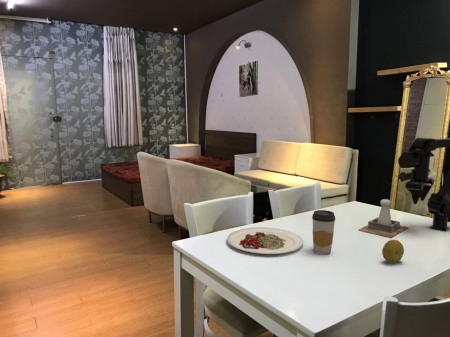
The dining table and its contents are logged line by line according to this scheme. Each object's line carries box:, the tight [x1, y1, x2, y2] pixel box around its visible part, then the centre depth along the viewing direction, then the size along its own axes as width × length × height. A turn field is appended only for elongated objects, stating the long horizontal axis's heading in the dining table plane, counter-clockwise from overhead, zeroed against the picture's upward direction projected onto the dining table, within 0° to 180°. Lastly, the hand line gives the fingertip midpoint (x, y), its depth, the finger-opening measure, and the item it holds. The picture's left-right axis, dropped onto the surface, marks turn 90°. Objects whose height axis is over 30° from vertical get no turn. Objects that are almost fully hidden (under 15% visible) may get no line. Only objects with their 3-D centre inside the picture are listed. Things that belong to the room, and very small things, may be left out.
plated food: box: [226, 226, 304, 255], centre depth 142 cm, size 30×30×3 cm
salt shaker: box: [377, 198, 392, 226], centre depth 159 cm, size 6×6×13 cm
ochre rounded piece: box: [381, 239, 405, 264], centre depth 123 cm, size 8×4×8 cm, turn 110°
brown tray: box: [358, 216, 409, 239], centre depth 160 cm, size 20×14×4 cm
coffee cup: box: [311, 209, 336, 256], centre depth 132 cm, size 8×8×15 cm
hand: (418, 202), depth 156 cm, fingers open, 9 cm apart
